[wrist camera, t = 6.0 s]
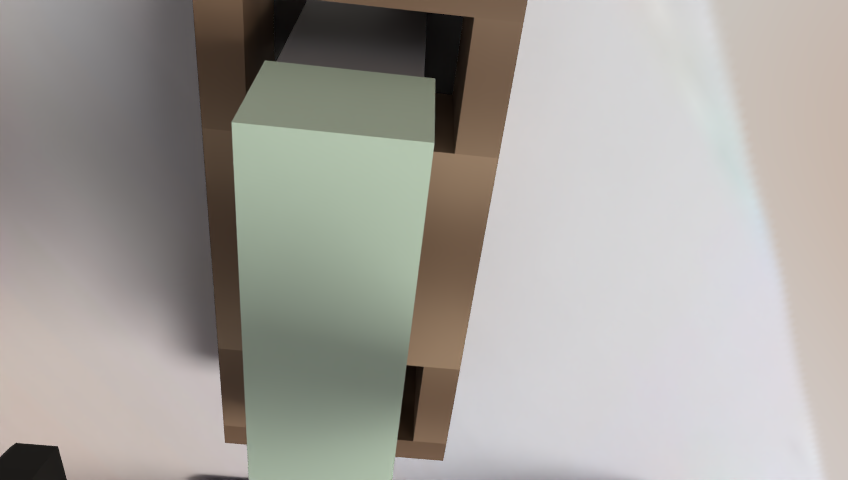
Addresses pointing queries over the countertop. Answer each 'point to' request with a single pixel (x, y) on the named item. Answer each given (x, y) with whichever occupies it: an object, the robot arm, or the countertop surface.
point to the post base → (446, 205)
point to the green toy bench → (332, 239)
